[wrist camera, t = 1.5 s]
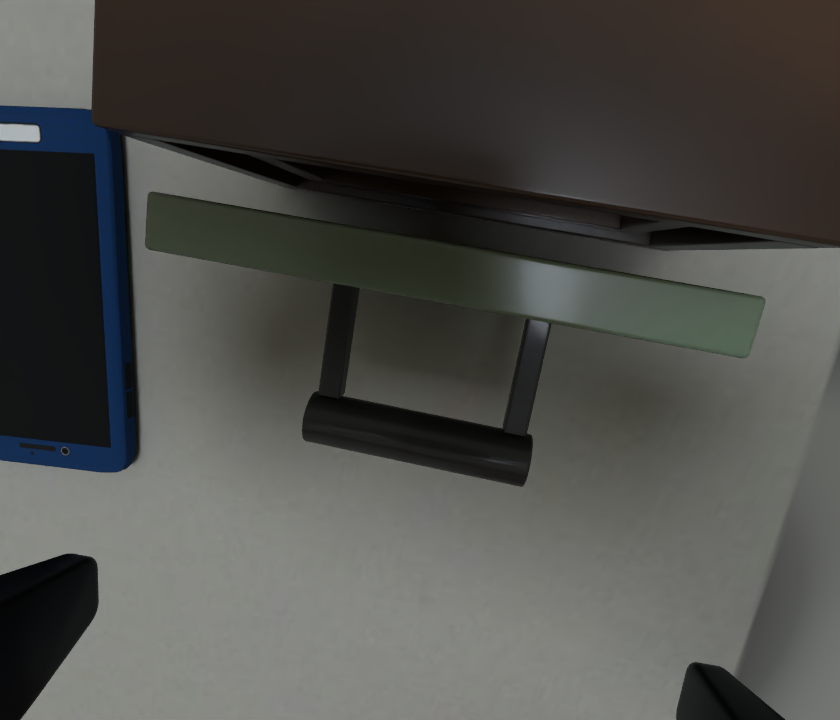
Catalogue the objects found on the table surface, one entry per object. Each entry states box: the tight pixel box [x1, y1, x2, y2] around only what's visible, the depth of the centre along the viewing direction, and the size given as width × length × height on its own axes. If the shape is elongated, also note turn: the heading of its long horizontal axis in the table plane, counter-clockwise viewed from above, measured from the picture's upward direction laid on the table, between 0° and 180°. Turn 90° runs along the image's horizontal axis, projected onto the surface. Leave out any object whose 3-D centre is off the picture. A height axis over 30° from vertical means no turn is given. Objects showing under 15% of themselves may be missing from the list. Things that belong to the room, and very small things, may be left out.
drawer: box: [145, 154, 765, 487], centre depth 13 cm, size 20×12×8 cm, turn 170°
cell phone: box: [0, 106, 136, 472], centre depth 21 cm, size 7×14×1 cm, turn 176°
